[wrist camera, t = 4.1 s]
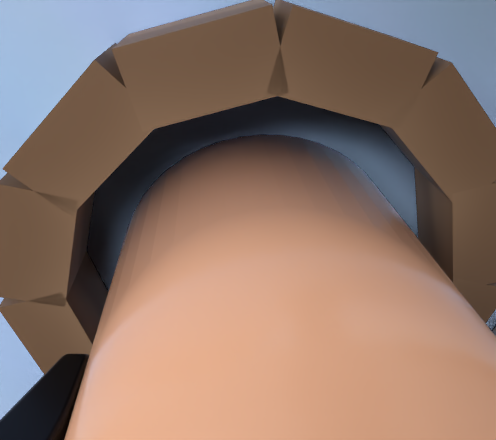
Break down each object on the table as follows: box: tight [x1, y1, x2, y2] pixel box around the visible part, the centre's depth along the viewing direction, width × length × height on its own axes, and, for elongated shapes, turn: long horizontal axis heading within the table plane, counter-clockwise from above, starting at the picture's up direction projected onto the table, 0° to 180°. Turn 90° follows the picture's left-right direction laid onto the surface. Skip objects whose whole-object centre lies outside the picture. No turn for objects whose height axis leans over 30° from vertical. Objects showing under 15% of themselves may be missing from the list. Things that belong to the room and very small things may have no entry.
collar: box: [0, 0, 496, 375], centre depth 11 cm, size 12×12×2 cm
